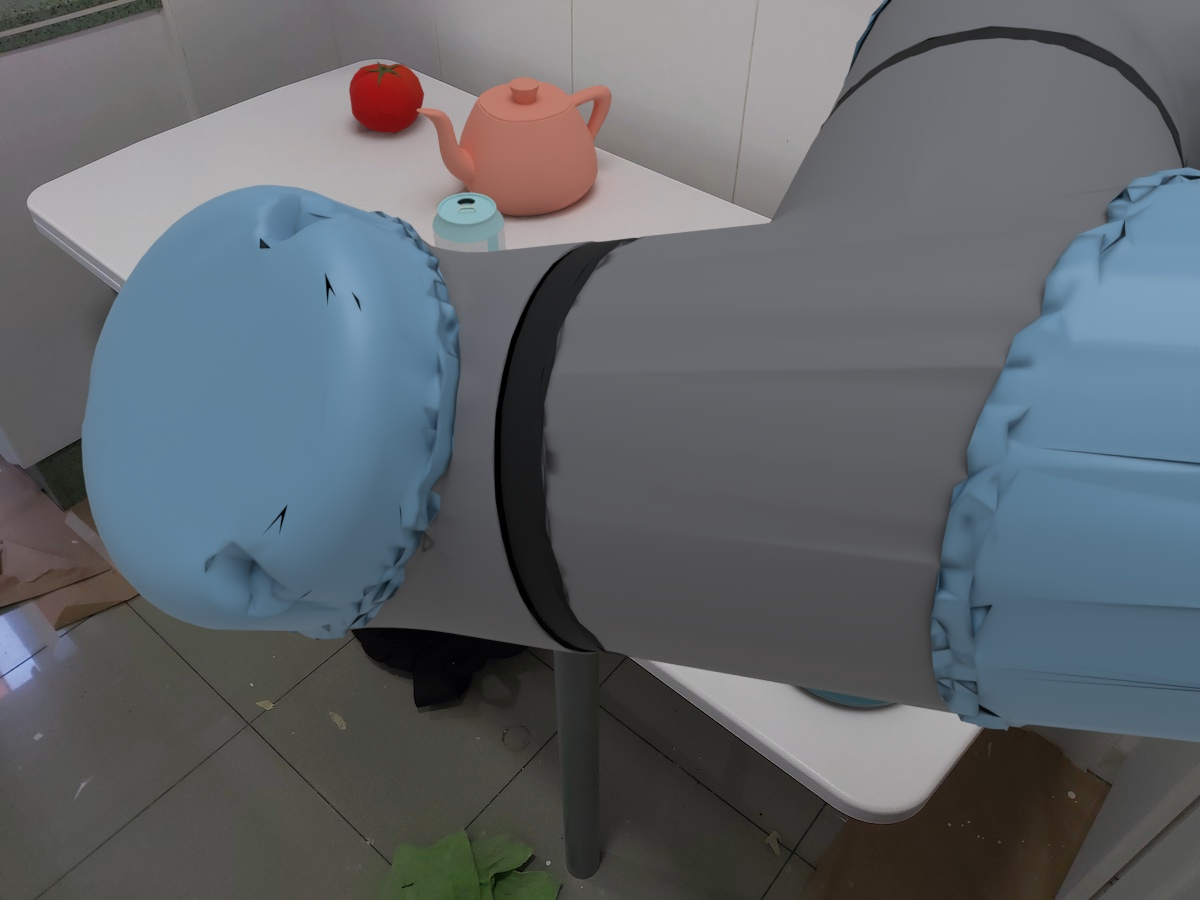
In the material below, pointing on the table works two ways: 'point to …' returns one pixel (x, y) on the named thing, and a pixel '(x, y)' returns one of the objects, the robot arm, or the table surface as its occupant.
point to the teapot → (525, 145)
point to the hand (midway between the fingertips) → (814, 525)
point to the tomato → (385, 97)
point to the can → (469, 224)
